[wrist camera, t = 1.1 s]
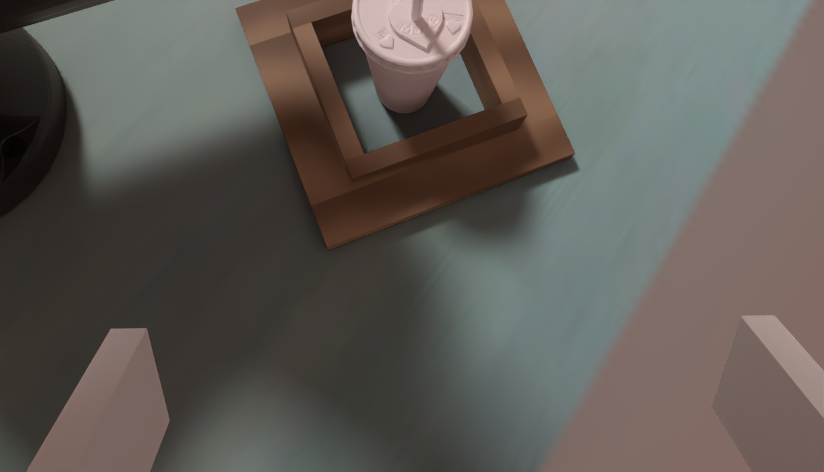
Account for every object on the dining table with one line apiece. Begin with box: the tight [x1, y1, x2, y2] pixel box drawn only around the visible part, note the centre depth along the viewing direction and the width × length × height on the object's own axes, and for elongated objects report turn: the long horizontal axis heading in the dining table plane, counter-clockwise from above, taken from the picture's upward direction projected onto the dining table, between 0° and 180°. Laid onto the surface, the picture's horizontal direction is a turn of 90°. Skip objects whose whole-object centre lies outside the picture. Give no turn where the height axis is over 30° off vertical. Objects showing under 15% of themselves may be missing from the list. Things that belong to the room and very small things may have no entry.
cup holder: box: [235, 0, 575, 250], centre depth 41 cm, size 17×17×4 cm
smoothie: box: [351, 0, 473, 113], centre depth 36 cm, size 6×6×14 cm
